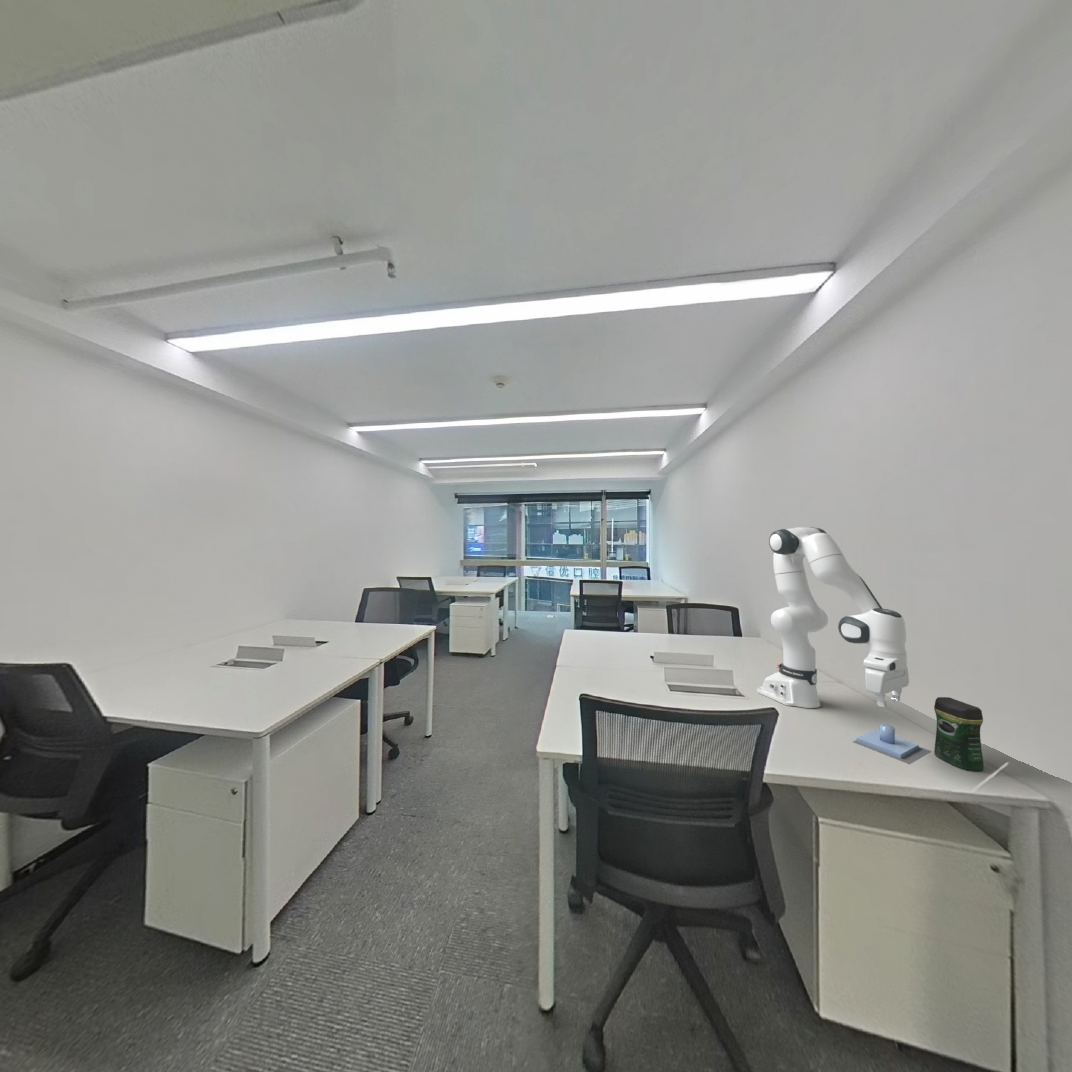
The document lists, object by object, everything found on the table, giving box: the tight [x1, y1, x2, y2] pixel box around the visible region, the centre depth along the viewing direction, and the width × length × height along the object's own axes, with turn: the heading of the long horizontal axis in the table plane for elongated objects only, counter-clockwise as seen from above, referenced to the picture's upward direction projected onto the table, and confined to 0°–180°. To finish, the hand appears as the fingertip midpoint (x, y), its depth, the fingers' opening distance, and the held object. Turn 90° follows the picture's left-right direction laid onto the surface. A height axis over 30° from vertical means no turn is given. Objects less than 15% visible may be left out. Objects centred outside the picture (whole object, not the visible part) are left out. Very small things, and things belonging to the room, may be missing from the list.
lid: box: [856, 723, 920, 759], centre depth 123 cm, size 11×13×6 cm
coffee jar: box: [933, 696, 984, 772], centre depth 114 cm, size 10×8×19 cm
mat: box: [852, 739, 932, 765], centre depth 122 cm, size 14×16×1 cm
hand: (888, 703), depth 123 cm, fingers open, 8 cm apart
